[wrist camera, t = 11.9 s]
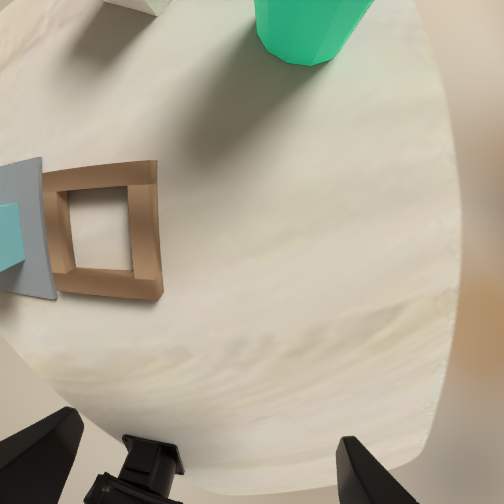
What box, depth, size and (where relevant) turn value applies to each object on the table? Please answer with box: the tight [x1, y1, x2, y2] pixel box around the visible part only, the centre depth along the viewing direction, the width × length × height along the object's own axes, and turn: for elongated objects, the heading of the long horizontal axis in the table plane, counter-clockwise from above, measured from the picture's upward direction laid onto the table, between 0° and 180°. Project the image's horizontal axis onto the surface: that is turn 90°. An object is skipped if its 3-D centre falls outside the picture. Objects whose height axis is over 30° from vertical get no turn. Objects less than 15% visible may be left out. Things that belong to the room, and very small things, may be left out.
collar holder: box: [42, 160, 164, 300], centre depth 19 cm, size 9×9×2 cm
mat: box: [0, 157, 57, 299], centre depth 20 cm, size 12×11×1 cm
